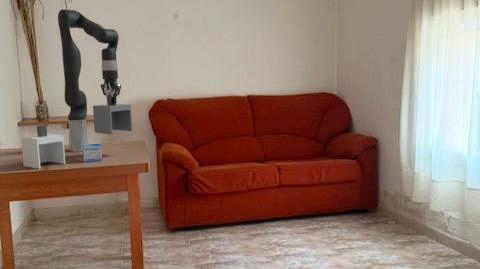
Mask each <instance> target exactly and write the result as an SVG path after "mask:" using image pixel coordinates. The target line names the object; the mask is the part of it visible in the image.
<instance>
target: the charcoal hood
mask: <svg viewBox="0 0 480 269" xmlns="http://www.w3.org/2000/svg"><path fill="white" fill-rule="evenodd" d="M106 103H108V104H99V105H92V110H93V111H92V112H93V113H92V114H93V129H94V133H96V134H105V135H106V134H107V135H113V134H114V133H113V131H115V130H116V131H125V132H133V119H132V118H133V117H132V104H125V103H116V104H112V95H107V97H106Z"/></svg>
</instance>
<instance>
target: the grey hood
mask: <svg viewBox="0 0 480 269" xmlns="http://www.w3.org/2000/svg"><path fill="white" fill-rule="evenodd" d="M47 130H48V128H47V125H46V124H45V125H44V124H40V125H36V132H37V133H36V134H34V135H28V136H21V138H20V139H21V140H20V141H21V152H22V163H23V167H27V168H31V167H32V169H37V168H38V169H37V170H41V169H40V168H41V164H44V163H49V162H50V163H55V164H62V165H66V156H65V155H66V154H65V153H66V151H65V141H64V140H65V139H64V134H63V135H62V134H54V133H48V131H47ZM43 162H44V163H43Z"/></svg>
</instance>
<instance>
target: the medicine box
mask: <svg viewBox="0 0 480 269" xmlns="http://www.w3.org/2000/svg"><path fill="white" fill-rule="evenodd" d="M82 156H83V162H84V163H93V162H102V158H103V156H102V144H101V143H100V142H88V144H83V151H82Z"/></svg>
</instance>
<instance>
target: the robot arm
mask: <svg viewBox="0 0 480 269" xmlns="http://www.w3.org/2000/svg"><path fill="white" fill-rule="evenodd" d="M57 22H58V28H59V35H60V42H61V52H62V53H61V54H62V65H63V74H64V75H63V76H64V77H63V78H64V102H65V104H66V105H67V106H68V107H69V108H70V109H69V113H68V115H67V116H68V117H67V121H68V131H69V132H68V143H69V144H68V145H69V146H68V147H69V151H70V152H71V153H72V152H73V153H80V152H83V144H88V143H89V139H88V128H87V127H88V124H87V114H88V104H87V103H88V101H87V96H86V93H85V92H84V91H83V90H81V89H80V84H79V83H80V82H79V79H80V74H81V70H82V55H81V51H80V49H79V47H78V46H77V44H76V43H75V41H74V39H73V38H72V34H71V29H82V30H83V31H84V33H85V34H86V35H87V36H90V37H92V38H94V39H95V40H96V41H97V42H98V43H101V44H107V47H106V48H103V49H101V76H102V77H101V78H102V80H103V81H104V82H103V84H100V88H101V91H102V94H103V96H105V97H106V98H107V95H112V104H117V97H119V96H120V93H121V89H122V84H120V83H118V79H119V74H118V72H119V70H118V62H117V49H118V45H119V38H120V36H119V34H118V32H117V30H115V29H113V28H112V29H111V28H105V27H104V26H102V25H101V24H98V23H96V22H94V21H92V20H91V19H89V18H87V17H86V16H84V15H83V14H82V13H81V12H79V11H77V10H75V9H73V10H72V9H63V8H62V9H60V10H59V11H58V14H57ZM106 103H107V102H106ZM106 105H108V103H107V104H106Z"/></svg>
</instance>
